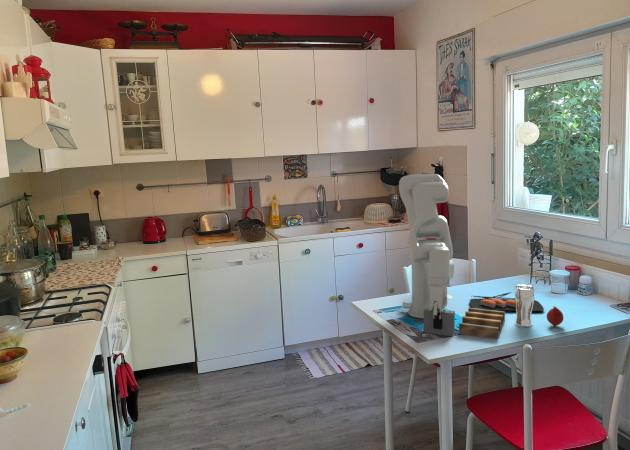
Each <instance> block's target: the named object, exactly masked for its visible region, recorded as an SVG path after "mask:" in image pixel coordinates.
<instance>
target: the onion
mask: <svg viewBox="0 0 630 450" xmlns="http://www.w3.org/2000/svg"><path fill="white" fill-rule="evenodd" d="M546 319H547V322H548V323H549V324H551V325H552V326H553V327H556V326H559V325H560V324H562V323H563V321H564V314H563V312H562V311H561V310H560V309H559V308H558V307H557V306H556V305H553V307H552V308H551V309H549V310H548V312H547V313H546Z"/></svg>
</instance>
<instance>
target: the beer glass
mask: <svg viewBox="0 0 630 450" xmlns="http://www.w3.org/2000/svg"><path fill="white" fill-rule="evenodd" d="M534 289H535V287H534V286H532V285H528V284H517V285H516V286H515V290H514V298H515V307H516V311H515V312H516V317H515V321H514V324H515V325H516V326H518V327H521V328H528V327H529V328H530V327H532V326H533V324H532V323H533V322H532V321H533V320H532V313H533V311H532V308H533V304H534V300H535V290H534Z"/></svg>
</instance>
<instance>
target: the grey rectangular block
mask: <svg viewBox="0 0 630 450" xmlns="http://www.w3.org/2000/svg"><path fill="white" fill-rule="evenodd" d="M438 311H439V310H438ZM433 312H434V308H433V310H432V311H429V308H425V309H424V319H423V333H425V334H430V335H431V334H432V335H438V336H445V337H446V336H447V337H452V338H453V337H454V336H455V330H456V329H455V326H456V325H455V321H456V320H455V318H456V312H455V310H452V309H451V310H449V309H444V310H443V311H442V315H441V319H442V329H434V328H433ZM438 314H439V313H438Z"/></svg>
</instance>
